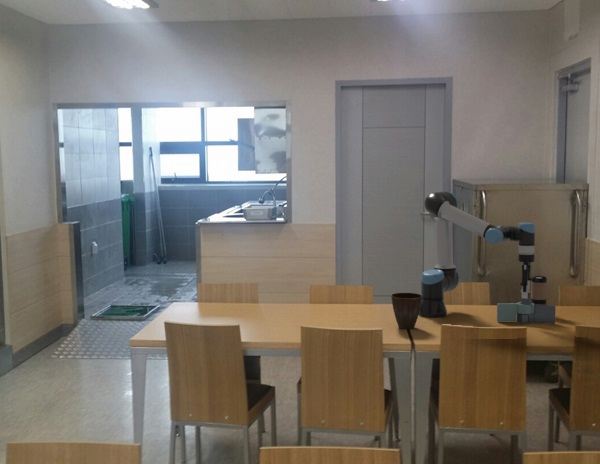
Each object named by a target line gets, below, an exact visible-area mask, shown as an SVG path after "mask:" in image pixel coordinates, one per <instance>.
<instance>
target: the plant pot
mask: <svg viewBox="0 0 600 464" xmlns="http://www.w3.org/2000/svg"><path fill="white" fill-rule="evenodd" d="M390 296H391V303H392V309H393V313H394V314H393V315H394V317H395V318H394V319H395V320H396V323H397V327H398V328H399V329H402V330H412V329H414V328H415V327H416V323H417V320H418V317H419V311H420V307H421V301H422V295H421V294H420V293H416V292H415V293H414V292H396V293H391V295H390Z"/></svg>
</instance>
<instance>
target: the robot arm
mask: <svg viewBox="0 0 600 464" xmlns="http://www.w3.org/2000/svg"><path fill="white" fill-rule="evenodd" d="M423 204H424V208H425V210H426V211H427V212H428V213H429V214H431V215H432V217H433V218H434V220H435V234H436V235H435V236H436V237H435V241H436V264H435V265H434V267H433V269H428V270H424V271H423V272H422V273H421V278H420V283H421V285H420V287H421V288H420V289H421V290H420V291H421V294H420V295H422V301H421V307H420V311H419V315H418V317H422V318H423V317H424V318H432V319H434V318H435V319H436V318H437V319H438V318H444V317H447V316H448V309H447V307H446V303H445V300H444V299H445V295H444V293H447V292H450V291H451V292H452V291H453V290H455V289H456V288H458V286H459V284H460V281H461V278H460V274H459V273H458V271H457V266H456V264H454V256H453V255H454V254H453V253H454V252H453V251H454V250H453V249H454V248H453V247H454V245H453V224H454V225H457V226H459V227H462V228H464V229H465V230H467V231H470V232H471V233H474V234H475V235H478V236H480V237H481V238H483V239H485V240H486V242H487V243H489V244H492V245H496V244H497V245H498V244H500V243H505V242H518V262H520V263H523V264H522V265H521V273H522V274H521V276H522V277H521V282H520V286H521V290H522V293H521V299H522V298H525V299H528V290H531V278H532V277H531V268H532V267H531V263H534V262H535V254H534V253H535V250H537V248H536V247H535V235H536V229H535V228H536V227H535V223H533V222H520V223H518V226H513V225H505V224H504V225H497V226H495V225H493V224H491V223H489V222H487V221H485V220H483V219H481V218H479V217H476V216H474V215H472V214H470V213H469V212H466V211H465V210H463V209H460V208H458V207H459V200H458V198H457V196H456V194H454V193H453V192H450V191H437V192H435V191H434V192H432V193H430V194H428V195H426V197H425V199H424V203H423Z"/></svg>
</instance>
